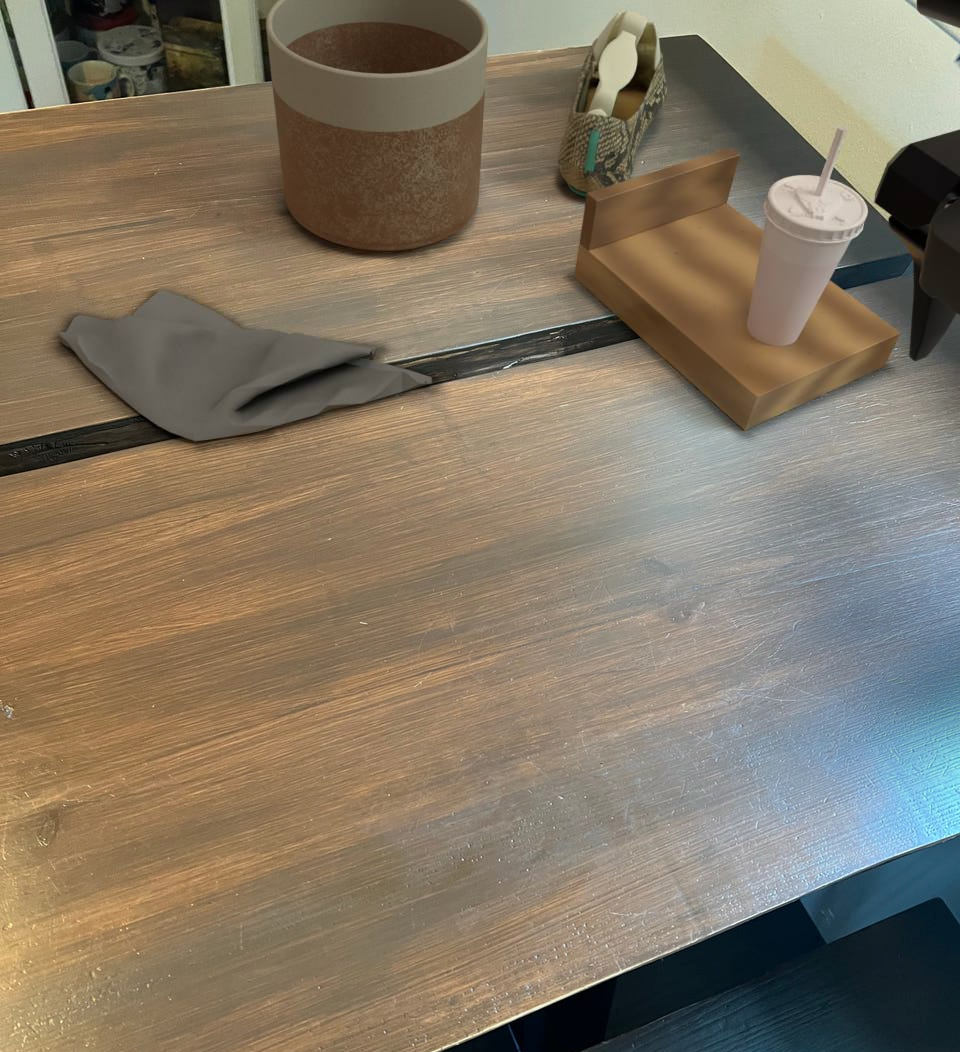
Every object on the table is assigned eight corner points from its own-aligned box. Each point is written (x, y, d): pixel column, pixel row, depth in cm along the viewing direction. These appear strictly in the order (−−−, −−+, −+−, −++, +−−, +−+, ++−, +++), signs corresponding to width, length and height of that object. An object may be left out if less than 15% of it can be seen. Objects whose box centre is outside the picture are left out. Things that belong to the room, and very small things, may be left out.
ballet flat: (672, 82, 98) (694, -24, 90) (636, 215, 83) (659, 102, 76) (589, 67, 98) (604, -39, 91) (539, 197, 84) (552, 83, 77)
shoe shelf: (708, 229, 83) (730, 146, 77) (884, 366, 73) (924, 283, 68) (573, 277, 78) (586, 192, 72) (744, 430, 68) (774, 347, 63)
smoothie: (818, 310, 72) (894, 115, 61) (817, 366, 68) (899, 168, 57) (730, 295, 72) (789, 98, 61) (724, 349, 69) (787, 150, 57)
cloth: (7, 387, 67) (-4, 360, 65) (118, 275, 74) (110, 248, 73) (365, 497, 63) (364, 471, 61) (442, 367, 71) (443, 340, 69)
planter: (247, 189, 82) (222, 6, 71) (399, 133, 89) (397, -42, 78) (362, 283, 76) (354, 98, 65) (517, 215, 82) (533, 37, 71)
